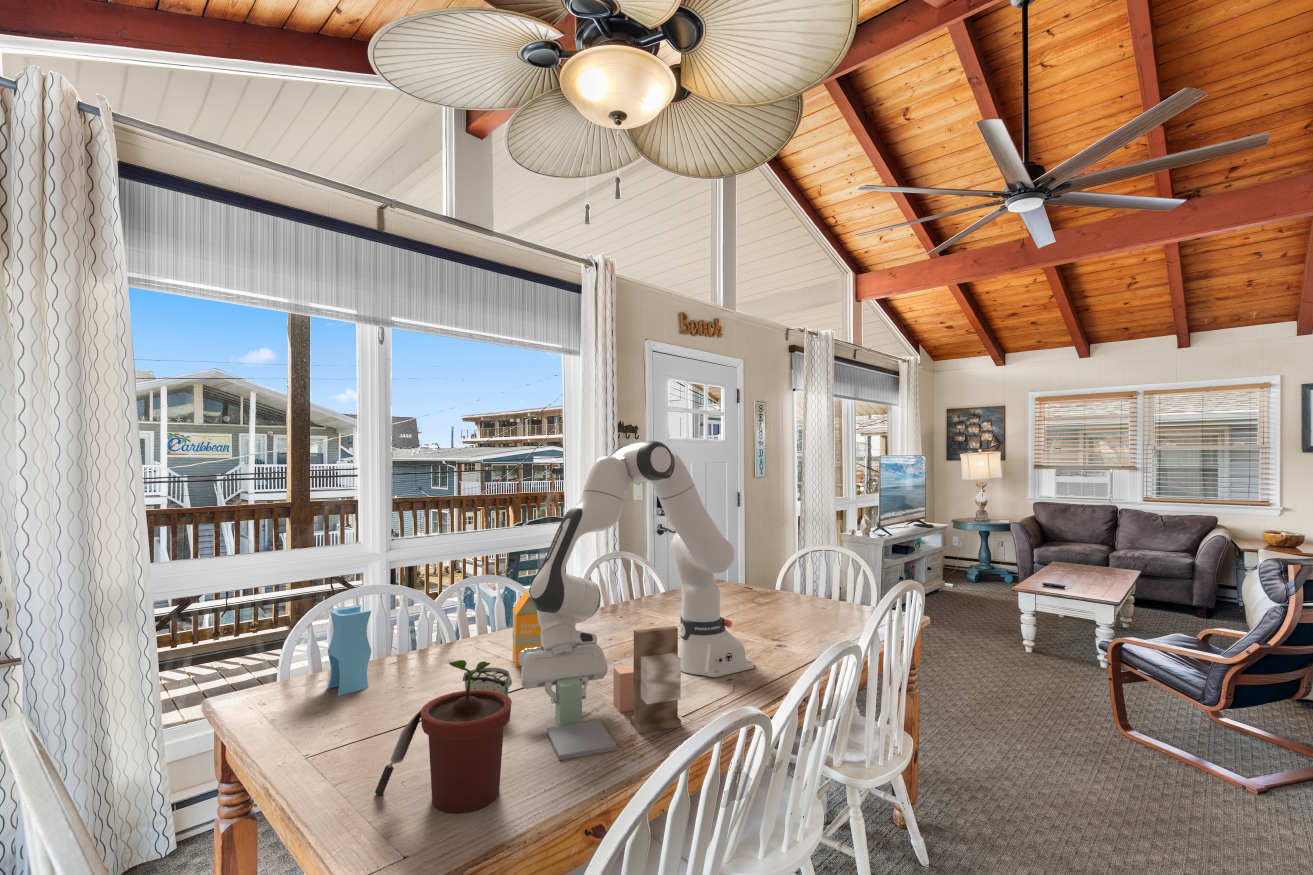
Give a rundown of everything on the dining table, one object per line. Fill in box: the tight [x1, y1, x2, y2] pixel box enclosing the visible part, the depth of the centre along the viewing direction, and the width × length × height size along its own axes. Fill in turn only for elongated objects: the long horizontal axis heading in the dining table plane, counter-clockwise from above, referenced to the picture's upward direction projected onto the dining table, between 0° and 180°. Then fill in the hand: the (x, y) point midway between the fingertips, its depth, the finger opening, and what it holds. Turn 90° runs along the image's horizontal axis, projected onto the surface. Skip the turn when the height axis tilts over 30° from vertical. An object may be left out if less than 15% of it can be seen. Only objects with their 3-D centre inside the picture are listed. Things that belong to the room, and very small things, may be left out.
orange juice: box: [512, 590, 542, 668], centre depth 185 cm, size 8×9×20 cm
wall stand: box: [629, 625, 682, 735], centre depth 141 cm, size 10×8×22 cm
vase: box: [327, 605, 372, 697], centre depth 163 cm, size 8×8×20 cm
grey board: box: [546, 719, 617, 761], centre depth 133 cm, size 12×13×1 cm
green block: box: [555, 677, 583, 727], centre depth 144 cm, size 5×5×9 cm
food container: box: [462, 667, 513, 696], centre depth 147 cm, size 12×6×10 cm, turn 71°
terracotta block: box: [612, 664, 634, 713], centre depth 152 cm, size 5×5×9 cm
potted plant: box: [374, 659, 513, 815], centre depth 114 cm, size 18×22×25 cm
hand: (569, 700), depth 143 cm, fingers closed on green block, 5 cm apart
